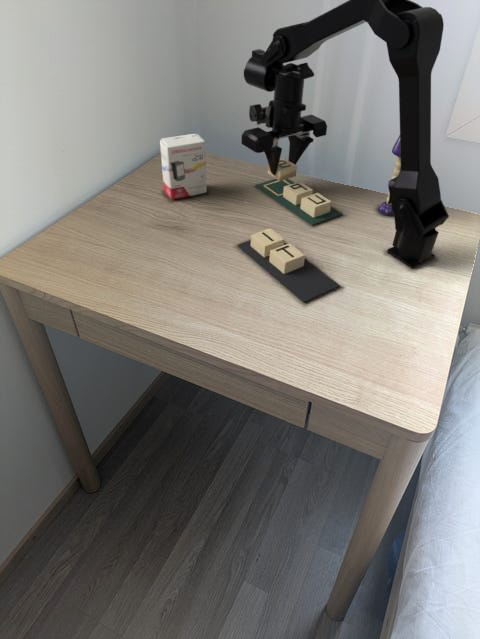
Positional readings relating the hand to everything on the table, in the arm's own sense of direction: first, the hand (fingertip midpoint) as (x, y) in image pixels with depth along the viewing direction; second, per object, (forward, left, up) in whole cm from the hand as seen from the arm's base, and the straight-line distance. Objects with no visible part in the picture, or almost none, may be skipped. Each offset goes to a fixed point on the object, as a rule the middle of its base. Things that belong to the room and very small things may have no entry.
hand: (282, 171), depth 109 cm
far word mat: (-6, 0, -4) cm, 7 cm away
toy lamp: (-20, -14, -4) cm, 25 cm away
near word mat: (-24, +17, -4) cm, 30 cm away
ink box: (+10, +19, -4) cm, 22 cm away
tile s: (0, 0, -1) cm, 1 cm away
